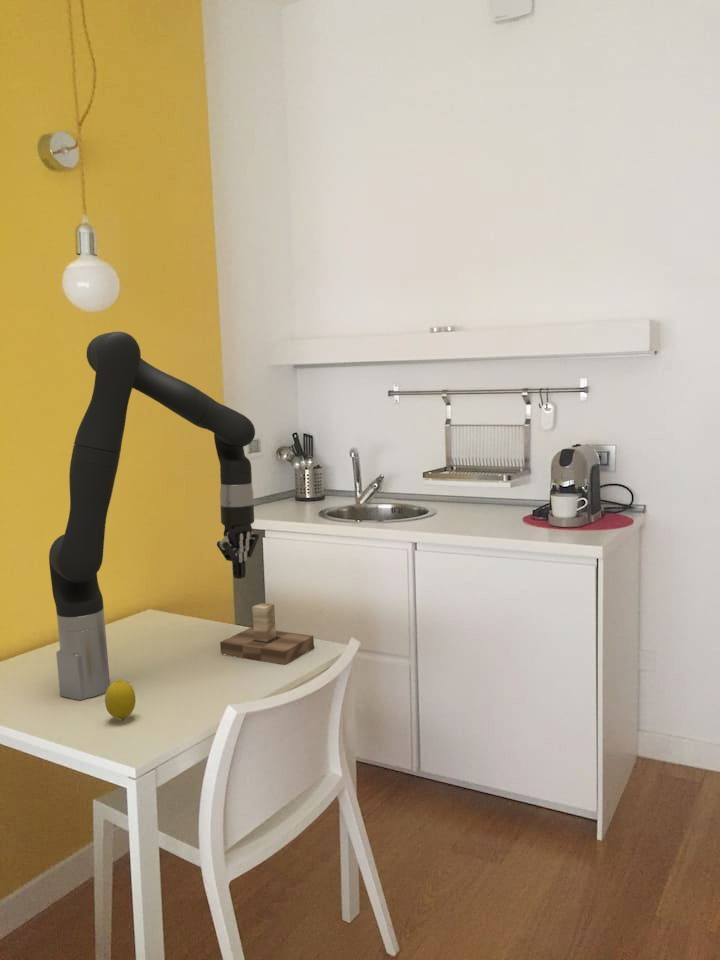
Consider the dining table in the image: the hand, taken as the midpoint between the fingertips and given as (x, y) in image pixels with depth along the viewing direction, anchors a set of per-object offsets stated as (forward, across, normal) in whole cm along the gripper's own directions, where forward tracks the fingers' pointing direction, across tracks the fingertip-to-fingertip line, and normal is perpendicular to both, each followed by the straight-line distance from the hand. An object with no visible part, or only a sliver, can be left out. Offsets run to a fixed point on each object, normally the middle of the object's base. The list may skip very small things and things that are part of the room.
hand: (239, 577), depth 190 cm
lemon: (+19, -40, -2) cm, 44 cm away
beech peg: (+18, +3, -4) cm, 19 cm away
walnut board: (+18, +3, -5) cm, 19 cm away
